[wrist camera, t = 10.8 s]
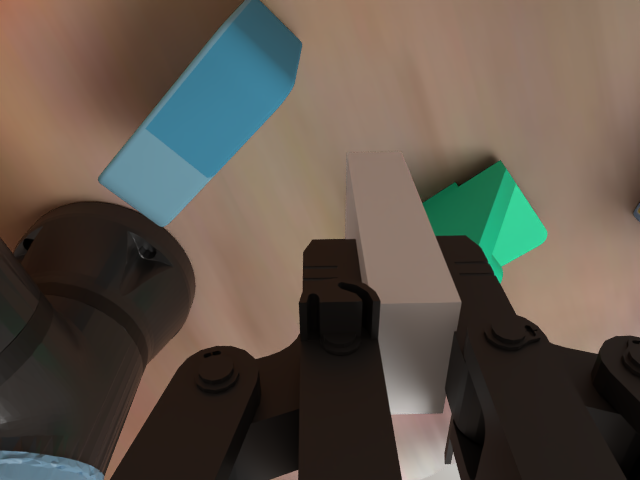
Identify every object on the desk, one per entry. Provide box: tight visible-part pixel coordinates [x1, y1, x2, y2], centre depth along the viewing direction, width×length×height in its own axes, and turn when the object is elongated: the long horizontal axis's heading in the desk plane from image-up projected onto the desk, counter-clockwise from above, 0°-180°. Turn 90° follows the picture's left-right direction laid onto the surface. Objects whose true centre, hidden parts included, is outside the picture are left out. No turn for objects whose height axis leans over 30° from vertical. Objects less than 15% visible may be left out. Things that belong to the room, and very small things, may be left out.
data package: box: [98, 0, 302, 227], centre depth 32 cm, size 12×4×12 cm, turn 136°
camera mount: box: [422, 160, 547, 283], centre depth 39 cm, size 12×8×10 cm, turn 128°
